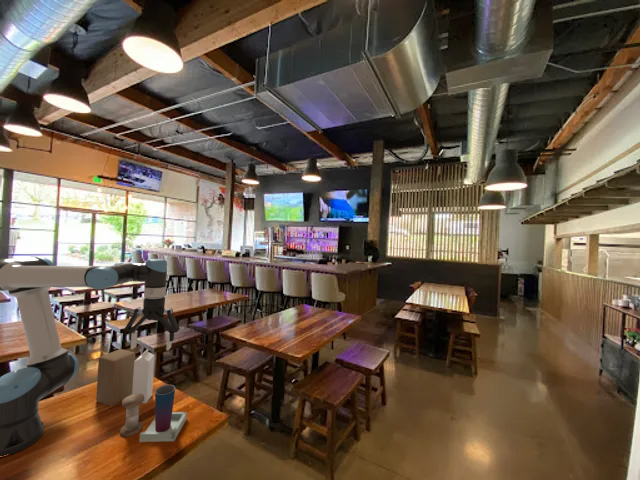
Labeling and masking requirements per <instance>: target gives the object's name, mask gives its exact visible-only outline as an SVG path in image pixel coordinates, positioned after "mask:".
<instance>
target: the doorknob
mask: <svg viewBox="0 0 640 480" xmlns="http://www.w3.org/2000/svg"><path fill="white" fill-rule="evenodd" d="M143 401H144V395H143V394H133V395H130V396H127V397H126V398H124V399H123V400H122V401H121V406H122V407H123V408H126V409H125V410H126V412H125V424H124V425H123V426H122V427H121V428H120V430H119V435H120V436H121V437H123V438H129V437H133V436H134V435H136V434H137V435H138V433H141V432H142V429H143V422H142V421H140V420H139V415H140V405H141V404H143V403H142V402H143Z"/></svg>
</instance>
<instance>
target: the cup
mask: <svg viewBox="0 0 640 480" xmlns="http://www.w3.org/2000/svg"><path fill="white" fill-rule="evenodd" d="M175 392H176V386H175V385H173V384H165V385H161V386H159V387H157V388H156V389H155V391H154V395H155V396H154V403H155V404H154V405H155V407H154V408H155V410H154V412H155V413H154V419H155V430H156V432H164V431H166V430H168V429H169V428H170V425H171V417H172V412H173V411H174V410H173V409H174V408H173V407H174V400H175Z"/></svg>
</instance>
